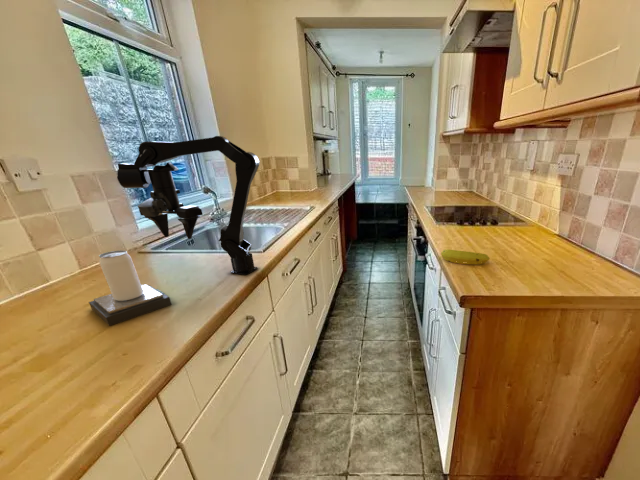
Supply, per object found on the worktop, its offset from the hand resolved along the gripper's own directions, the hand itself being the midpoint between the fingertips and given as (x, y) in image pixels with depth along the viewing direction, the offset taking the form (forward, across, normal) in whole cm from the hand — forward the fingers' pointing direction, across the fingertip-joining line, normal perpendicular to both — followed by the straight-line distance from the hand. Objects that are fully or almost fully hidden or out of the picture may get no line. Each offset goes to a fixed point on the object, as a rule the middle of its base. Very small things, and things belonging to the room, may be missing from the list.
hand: (178, 237), depth 102 cm
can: (+10, +4, -23) cm, 25 cm away
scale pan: (+11, +4, -23) cm, 26 cm away
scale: (+13, +4, -23) cm, 27 cm away
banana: (+11, +89, +40) cm, 98 cm away
